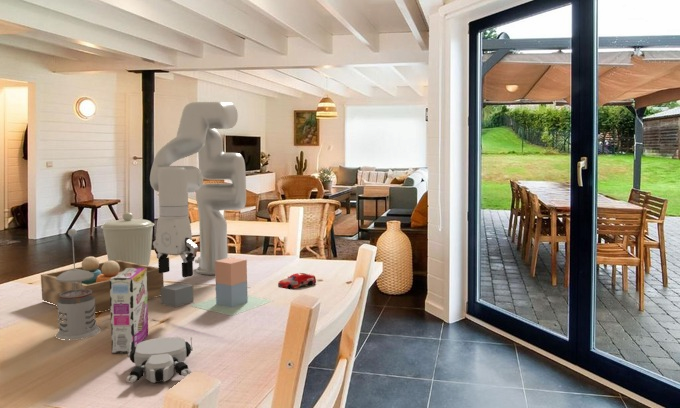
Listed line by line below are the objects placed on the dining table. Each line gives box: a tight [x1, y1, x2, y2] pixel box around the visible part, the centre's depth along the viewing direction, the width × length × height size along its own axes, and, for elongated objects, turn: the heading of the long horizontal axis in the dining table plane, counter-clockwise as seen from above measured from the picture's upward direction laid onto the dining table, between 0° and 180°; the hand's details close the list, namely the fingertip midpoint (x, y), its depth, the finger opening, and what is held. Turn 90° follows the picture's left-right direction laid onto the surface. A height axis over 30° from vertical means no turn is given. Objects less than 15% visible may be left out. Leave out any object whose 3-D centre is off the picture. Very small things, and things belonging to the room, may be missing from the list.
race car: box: [277, 272, 317, 291], centre depth 165 cm, size 13×5×4 cm, turn 127°
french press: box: [55, 228, 101, 341], centre depth 122 cm, size 10×12×25 cm
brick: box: [214, 256, 248, 286], centre depth 141 cm, size 6×6×6 cm
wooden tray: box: [40, 260, 165, 313], centre depth 151 cm, size 23×24×8 cm
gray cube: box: [160, 282, 194, 308], centre depth 143 cm, size 6×6×6 cm
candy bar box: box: [110, 268, 149, 354], centre depth 114 cm, size 11×5×16 cm, turn 5°
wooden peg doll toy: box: [79, 256, 120, 285], centre depth 152 cm, size 18×17×12 cm
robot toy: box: [125, 336, 194, 383], centre depth 101 cm, size 12×4×15 cm
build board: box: [189, 295, 273, 317], centre depth 142 cm, size 16×16×1 cm
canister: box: [100, 211, 156, 266], centre depth 188 cm, size 18×18×21 cm
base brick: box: [215, 280, 249, 308], centre depth 142 cm, size 6×6×6 cm
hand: (175, 274), depth 141 cm, fingers open, 9 cm apart
